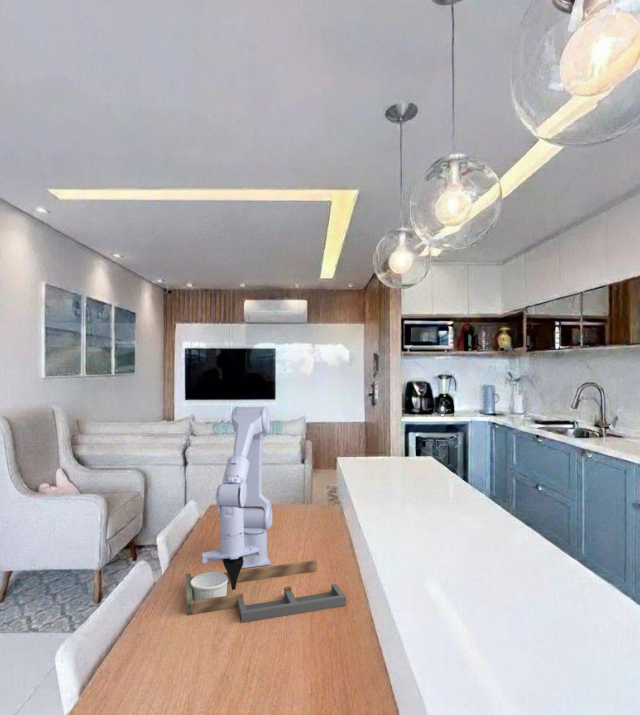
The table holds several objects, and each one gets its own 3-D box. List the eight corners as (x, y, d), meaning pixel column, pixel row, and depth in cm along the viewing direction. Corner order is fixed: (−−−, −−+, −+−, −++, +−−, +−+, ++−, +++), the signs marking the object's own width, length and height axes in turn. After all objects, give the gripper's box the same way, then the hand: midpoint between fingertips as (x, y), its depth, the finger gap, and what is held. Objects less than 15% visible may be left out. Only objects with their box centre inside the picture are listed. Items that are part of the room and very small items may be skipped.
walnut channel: (187, 615, 111) (186, 599, 112) (186, 587, 125) (185, 573, 125) (331, 592, 121) (331, 578, 121) (315, 569, 135) (315, 556, 135)
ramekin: (236, 595, 120) (235, 578, 120) (205, 610, 114) (205, 591, 114) (213, 585, 126) (213, 568, 126) (183, 598, 119) (183, 580, 119)
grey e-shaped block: (241, 622, 108) (241, 613, 108) (237, 607, 115) (237, 598, 115) (345, 605, 114) (345, 596, 114) (336, 591, 121) (336, 583, 121)
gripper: (202, 541, 116) (203, 600, 116) (264, 534, 120) (265, 590, 120) (201, 531, 123) (202, 587, 122) (259, 525, 127) (260, 578, 126)
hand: (233, 588), depth 122 cm, fingers closed
